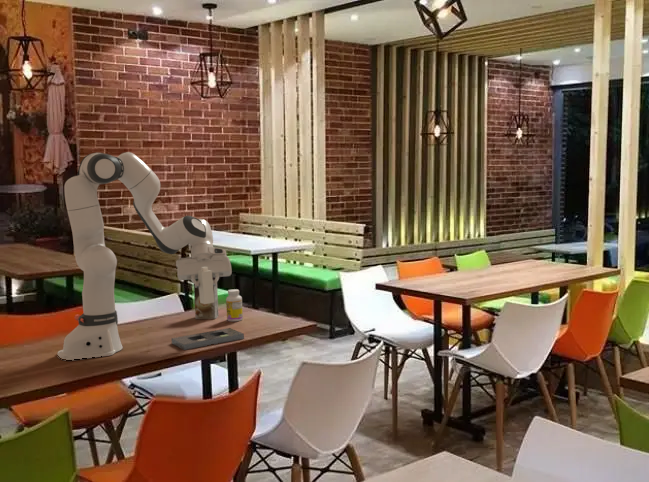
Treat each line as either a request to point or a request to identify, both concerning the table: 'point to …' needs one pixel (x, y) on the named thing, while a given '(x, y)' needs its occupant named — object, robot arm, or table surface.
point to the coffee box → (206, 306)
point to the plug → (205, 286)
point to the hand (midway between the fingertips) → (206, 285)
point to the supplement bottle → (234, 306)
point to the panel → (207, 338)
